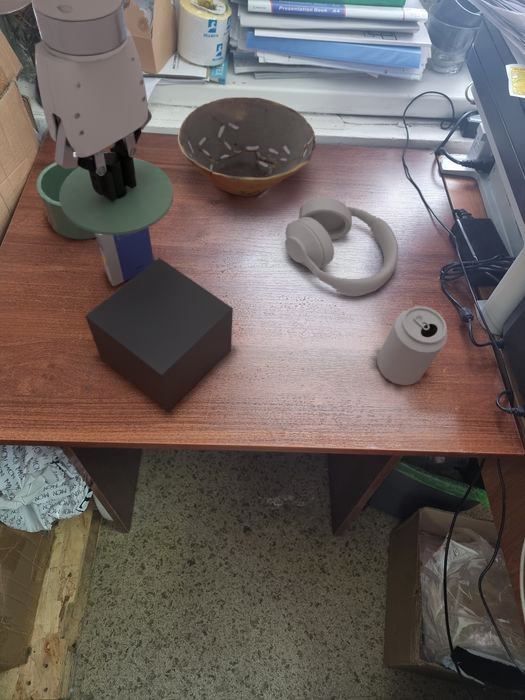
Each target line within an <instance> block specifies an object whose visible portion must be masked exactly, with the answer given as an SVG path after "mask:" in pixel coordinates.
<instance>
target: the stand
mask: <svg viewBox="0 0 525 700" xmlns="http://www.w3.org/2000/svg"><path fill="white" fill-rule="evenodd" d="M233 312H234V308H233V307H232V306H230V305H229V304H227V303H226V302H225V301H223V300H222V299H220V298H218V297H217V296H216V295H214V294H213V293H211V292H210V291H208V290H207V289H205V288H204V287H203V286H201V285H199V284H198V283H197V282H195V281H194V280H193V279H191V278H190V277H188V276H187V275H185V274H183V272H181V271H180V270H178V269H177V268H175V267H174V266H173V265H171V264H170V263H168V262H166V261H165V260H164V259H162V258H161V257H158V258H157V259H155V260H154V262H153V263H152V264H151V265H149V266H148V267H147V268H145V269H144V270H143V271H142V272H140V273H139V274H138V275H137V276H135V277H133V278H131V279H129V281H127V282H126V283H125V284H124V285H122V286H121V287H120V288H118V289H117V290H116V291H114V292H113V293H112V294H111V295H110V296H108V297H107V298H106V299H104V301H102V302H101V303H100V304H98V305H97V306H96V307H94V308H92V310H90V311H89V312H88V313H87V314H85V316H84V317H85V319H86V322H87V325H88V328H89V330H90V334H91V336H92V338H93V341H94V344H95V346H96V347H95V348H96V349H97V352H98V355H99V357H100V358H99V359H101V360H102V361H103V362H105V364H107V365H108V366H109V367H111V368H112V369H113V370H114V371H116V373H118V374H119V375H121V376H122V377H123V378H124V379H126V381H128V382H129V383H130V384H132V385H133V386H134V387H135V388H136V389H138V390H139V391H141V393H143V394H144V395H145V396H147V397H148V398H149V399H150V400H152V401H153V402H154V403H155V404H157V405H158V406H159V407H161V408H162V409H163V410H164V411H166V412H167V413H170V412H171V411H172V410H173V409H174V408H175V407H176V406H177V405H178V404H179V403H180V402H181V401H182V400H183V399H184V398H185V397H186V396H187V395H188V394H189V393H190V392H191V391H192V390H194V388H195V387H196V386H198V384H199V383H200V382H201V381H202V380H204V378H205V377H206V376H207V375H208V374H209V373H210V372H211V371H212V370H213V369H214V368H215V367H216V366H217V365H218V364H220V362H221V361H222V360H223V359H224V358H225V357H226V356H228V354H229V353H230V352H231V351H232V336H233V335H232V333H233V318H234V317H233V316H234V315H233V314H234V313H233Z"/></svg>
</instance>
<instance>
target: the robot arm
mask: <svg viewBox="0 0 525 700" xmlns="http://www.w3.org/2000/svg"><path fill="white" fill-rule="evenodd" d="M30 4H32V8H33V12H34V16H35V19H36V23H37V27H38V30H39V34H40V38H41V41H39V42H37V43H36V44H35V45H34V53H35V54H34V55H35V56H34V57H35V70H36V79H37V84H38V85H37V86H38V89H39V96H40V101H41V105H42V109H43V110H42V111H43V114H44V118H45V121H46V126H47V130H48V132H49V135H50V137H51V139H52V140H53V141H54V142H55V143H56V144H55V151H54V163H57V164H58V165H59V166H61V167H62V168H64V169H73V168H77V167H81V168H83V169H86V170H88V171H89V174H90V178H91V182H92V186H93V189H94V190H95V191H96V192H97V193H98V194H99V195H103V196H104V197H106V198H107V199H109V200H110V201H112V202H113V201H114V200H116V198H117V195H116V190H115V185H114V181H113V176H112V173H111V171H109V170H108V169H106V163H105V157H104V153H105V151H104V150H105V149H106V148H108V147H109V152H115V153H118V154H119V155H120V156H121V160H122V166H123V171H124V177H125V182H126V185H127V186H128V187H130V188H134V187H136V186H137V184H136V178H135V168H134V162H133V158H135V156H136V155H137V152H138V148H137V143H138V141H139V139H140V138H141V135H142V131H143V130H144V129H145V127H146V126H147V125H148V124H149V122H150V121H152V120H151V119H152V118H153V114H152V113H151V110H150V109H149V107H148V96H147V90H146V84H145V78H144V73H143V69H142V64H141V61H140V56H139V54H138V50H137V47H136V44H135V41H134V40H135V39H134V38H133V35H132V33H131V31H130V29H129V28H128V27H127V26H126V18H125V17H126V16H125V10H126V9H127V8H129V7H130V5H131V1H130V0H0V15H6V14H10V13H13V12H16V11H19V10H22V9H23V8H25V7H27V6H28V5H30ZM110 146H112V147H110Z"/></svg>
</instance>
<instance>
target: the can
mask: <svg viewBox="0 0 525 700" xmlns="http://www.w3.org/2000/svg"><path fill="white" fill-rule="evenodd" d="M447 340H448V327H447V322H446V320H445V318H444V317H443V316H442V315H441V314H440V313H439V312H438V311H437V310H435V309H433V308H431V307H429V306H421V305H418V306H417V305H416V306H412V307H410V308H408V309H406V310H404V311H401V313H400V314H399V315H398V316H397V317H396V319H395V320H394V322H393V324H392V326H391V329H390V330H389V332H388V334H387V337H386V339H385V341H384V342H383V344H382V346H381V348H380V350H379V352H378V355H377V357H376V359H377V360H376V361H377V363H376V365H377V367H378V369H379V371H380V373H381V374H382V376H384V378H385V379H387V380H388V381H390V382H392V383H394V384H397V385H401V386H409V385H413V384H416V383H417V382H419V381H420V380H421V378H422V377H423V376H424V375H425V374H426V372H427V371H428V369H429V368H430V366H431V365H432V364H433V362H434V360H435V359H436V358H437V356H438V355H439V353H440V352H441V350H442V349H443V348H444V346H445V345H446V343H447Z"/></svg>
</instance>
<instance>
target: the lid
mask: <svg viewBox="0 0 525 700" xmlns="http://www.w3.org/2000/svg"><path fill="white" fill-rule="evenodd" d="M104 157H105V163H106V169H108V170H109V171H111V173H112V176H113V181H114V185H115V190H116V195H117V198H116V200H114V201H113V202H112V201H110V200H109V199H107V198H106V197H104V196H103V195H99V194H98V193H97V192H96V191H95V190H94V189H93V186H92V182H91V178H90V174H89V171H88V170H86V169H83V168H81V167H79V168H78V169H76V170H75V171H73V172H72V173H71V174H70V175H69V176H68V177H67V178H66V179H65V181H64V182H63V184H62V186H61V189H60V193H59V200H60V205H61V208H62V210H63V212H64V214H65V215H66V217H67V218H68V219H69V220H70V221H71V222H73V223H74V224H75V225H77V226H78V227H80V228H82V229H84V230H87V231H90V232H93V233H97V234H104V235H124V234H130V233H134V232H138V231H141V230H144V229H146V228H148V227H149V228H150V227H152V226H154V225H155V224H157V223H159V222H160V221H161V220H162V219H163V218H164V217H165V216H166V215H167V213H168V212H169V211H170V209H171V207H172V205H173V201H174V187H173V184H172V181H171V180H170V177H168V175H167V174H166V173H165V172H164V171H163V170H162V169H161V168H159V167H158V166H156V165H155V164H153V163H151V162H149V161H146V160H143V159H139V158H136V157H133V162H134V168H135V178H136V184H137V186H136V187H134V188H130V187H128V186H127V185H126V182H125V177H124V171H123V166H122V160H121V156H120V155H119V154H118V153H115V152H110V151H108V152H106V151H105V152H104Z"/></svg>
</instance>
